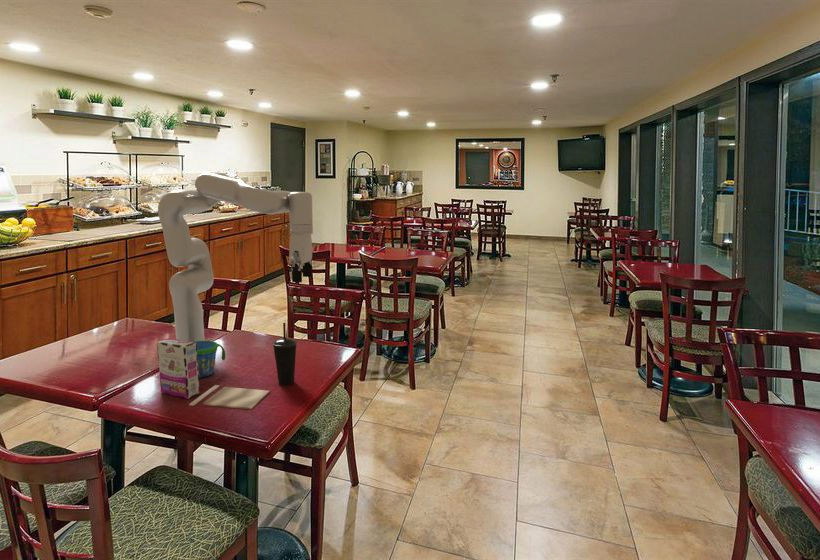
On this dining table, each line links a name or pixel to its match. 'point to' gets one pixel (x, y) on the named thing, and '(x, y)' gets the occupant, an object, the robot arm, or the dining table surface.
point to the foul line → (204, 395)
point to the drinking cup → (285, 358)
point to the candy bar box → (178, 367)
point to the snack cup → (207, 357)
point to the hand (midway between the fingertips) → (302, 279)
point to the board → (236, 398)
